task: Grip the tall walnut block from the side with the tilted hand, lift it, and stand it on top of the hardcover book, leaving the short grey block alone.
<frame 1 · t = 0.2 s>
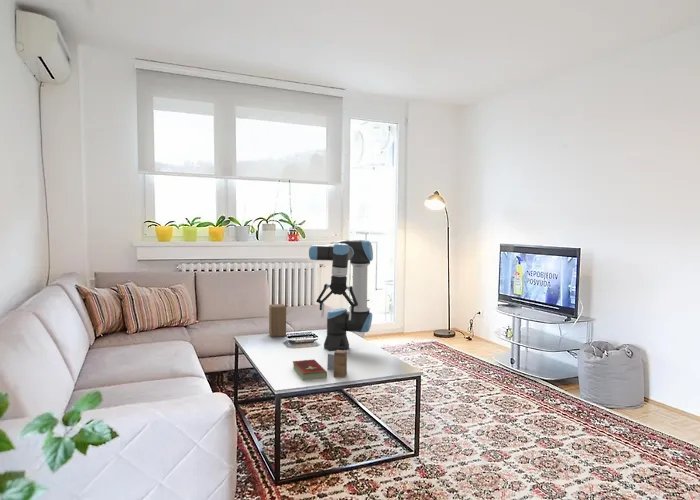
hand: (336, 318, 235), 28 cm above the table, tool pointing down, fingers open, 13 cm apart
walnut block: (340, 375, 234), on the table
grey block: (334, 368, 246), on the table
hardcover book: (309, 374, 238), on the table
block: (277, 335, 317), on the table
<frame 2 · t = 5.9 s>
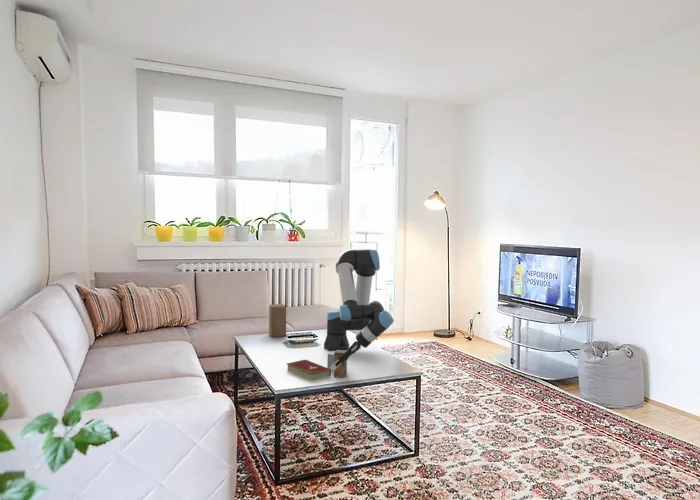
hand: (333, 367, 235), 4 cm above the table, tool tilted 45°, fingers closed on walnut block, 5 cm apart
walnut block: (340, 375, 234), on the table, touching gripper
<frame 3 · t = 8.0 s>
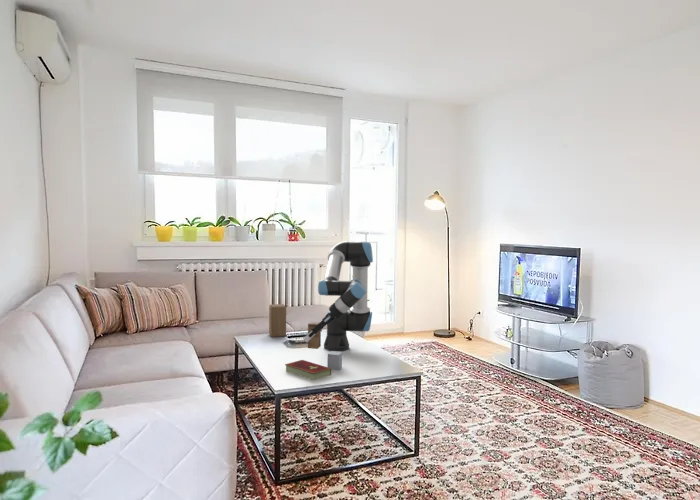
hand: (307, 339, 237), 17 cm above the table, tool tilted 45°, fingers closed on walnut block, 5 cm apart
walnut block: (314, 347, 237), point 13 cm above the table, touching gripper
when the fingers open (8 cm above the table, at t = 10.5 s): walnut block moves 1 cm, resting on hardcover book.
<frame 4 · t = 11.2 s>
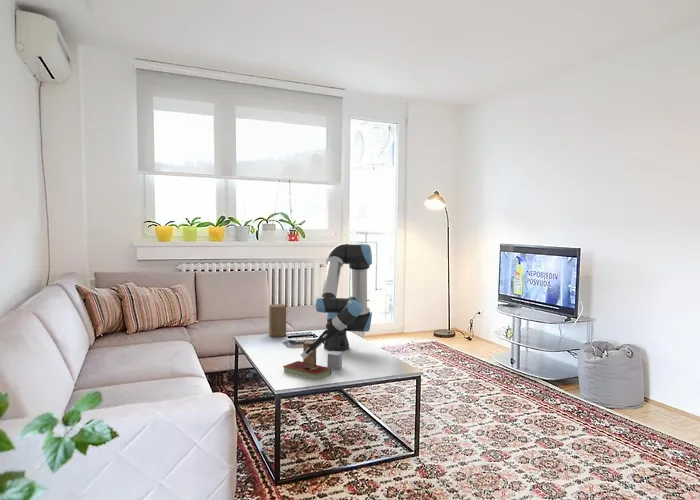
hand: (306, 353, 238), 10 cm above the table, tool tilted 45°, fingers open, 13 cm apart
walnut block: (309, 366, 237), point 3 cm above the table, touching hardcover book
hardcover book: (307, 375, 237), on the table, touching walnut block
everything else where it was.
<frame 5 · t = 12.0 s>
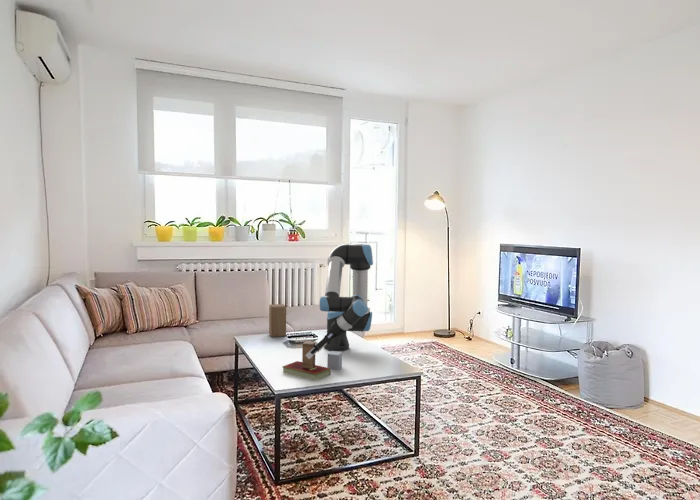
hand: (312, 353, 237), 10 cm above the table, tool tilted 45°, fingers open, 13 cm apart
walnut block: (308, 366, 237), point 4 cm above the table
hardcover book: (306, 375, 237), on the table
everything else where it was.
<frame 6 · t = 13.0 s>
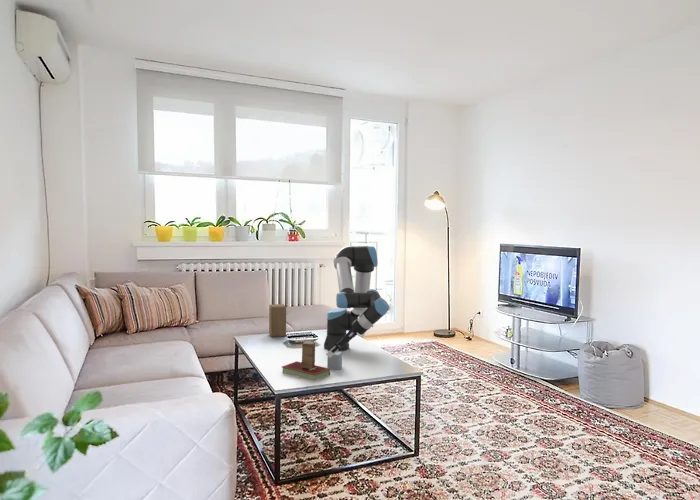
hand: (332, 352, 235), 11 cm above the table, tool tilted 45°, fingers open, 13 cm apart
walnut block: (308, 366, 237), point 3 cm above the table, touching hardcover book
hardcover book: (305, 375, 237), on the table, touching walnut block
everything else where it was.
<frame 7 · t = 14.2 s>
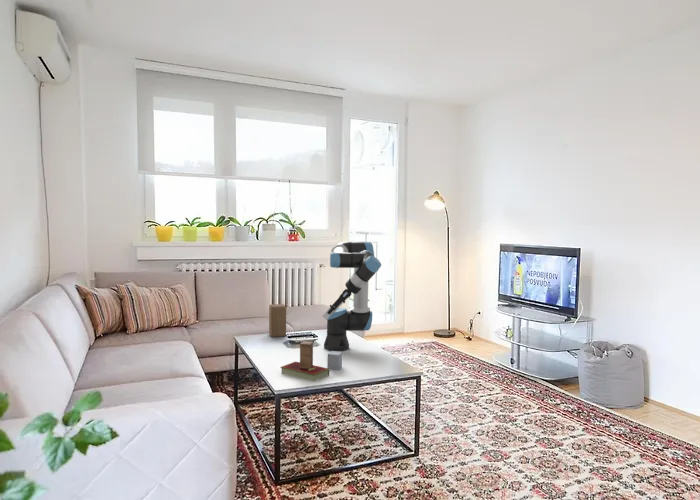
hand: (328, 314, 236), 30 cm above the table, tool tilted 40°, fingers open, 13 cm apart
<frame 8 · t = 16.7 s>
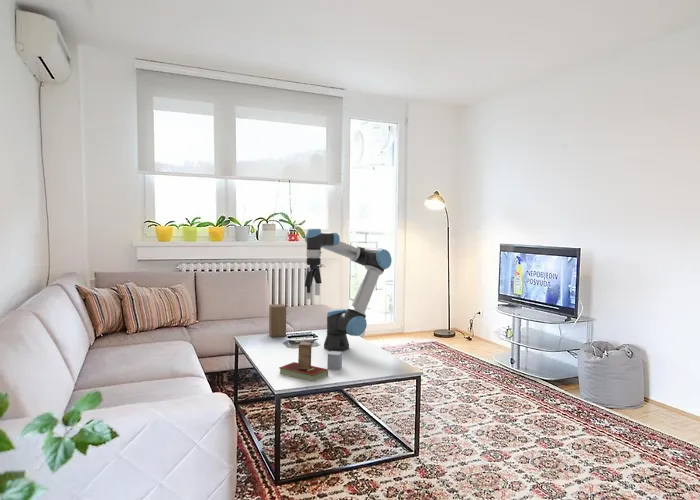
hand: (313, 297, 257), 35 cm above the table, tool pointing down, fingers open, 13 cm apart
walnut block: (304, 367, 235), point 3 cm above the table, touching hardcover book
hardcover book: (303, 376, 235), on the table, touching walnut block
everything else where it was.
at the end: walnut block inside the target area on the hardcover book (0.5 cm from its centre), point 4.5 cm above the hardcover book's base; walnut block tilted 1°; the gripper is holding nothing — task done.
